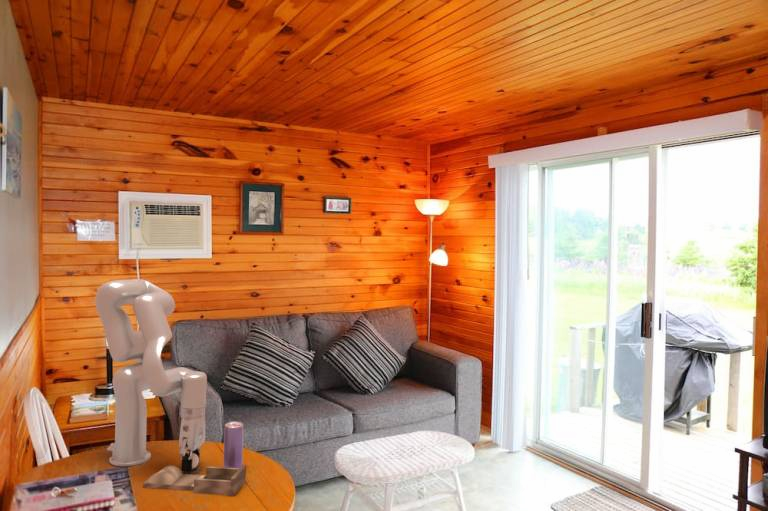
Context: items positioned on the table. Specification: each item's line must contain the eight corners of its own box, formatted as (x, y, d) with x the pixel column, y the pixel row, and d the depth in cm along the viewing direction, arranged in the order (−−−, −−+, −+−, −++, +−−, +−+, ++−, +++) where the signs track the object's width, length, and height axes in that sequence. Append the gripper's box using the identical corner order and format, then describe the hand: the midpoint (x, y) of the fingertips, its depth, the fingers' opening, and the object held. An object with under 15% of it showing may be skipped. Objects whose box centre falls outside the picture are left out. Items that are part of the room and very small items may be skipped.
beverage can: (237, 475, 180) (238, 428, 180) (219, 473, 181) (220, 426, 181) (245, 468, 186) (246, 422, 185) (228, 466, 187) (229, 420, 187)
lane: (140, 503, 168) (141, 472, 168) (157, 488, 178) (157, 459, 178) (234, 509, 166) (234, 478, 165) (245, 494, 176) (246, 465, 175)
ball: (178, 470, 180) (179, 454, 180) (189, 464, 185) (189, 449, 185) (191, 473, 179) (192, 457, 178) (201, 467, 183) (202, 452, 183)
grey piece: (188, 476, 178) (188, 474, 178) (182, 471, 182) (182, 469, 182) (202, 472, 181) (202, 470, 181) (196, 467, 185) (196, 466, 185)
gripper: (193, 420, 172) (190, 480, 173) (214, 404, 189) (212, 458, 190) (169, 418, 173) (166, 477, 174) (192, 402, 190) (190, 456, 191)
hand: (190, 467), depth 182 cm, fingers closed on ball, 4 cm apart
